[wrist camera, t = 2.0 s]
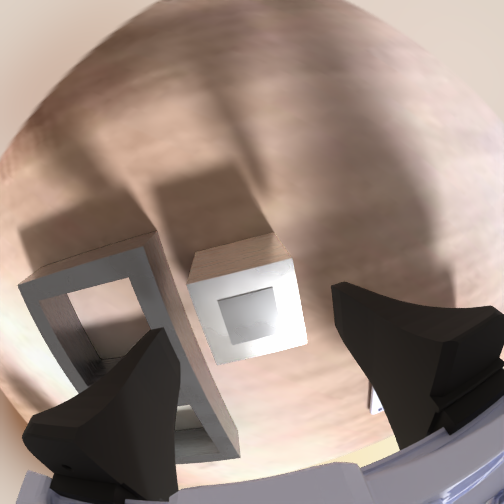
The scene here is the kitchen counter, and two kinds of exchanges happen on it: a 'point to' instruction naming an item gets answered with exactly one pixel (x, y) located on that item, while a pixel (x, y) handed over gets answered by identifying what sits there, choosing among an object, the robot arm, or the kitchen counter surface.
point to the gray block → (247, 298)
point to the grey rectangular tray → (157, 315)
